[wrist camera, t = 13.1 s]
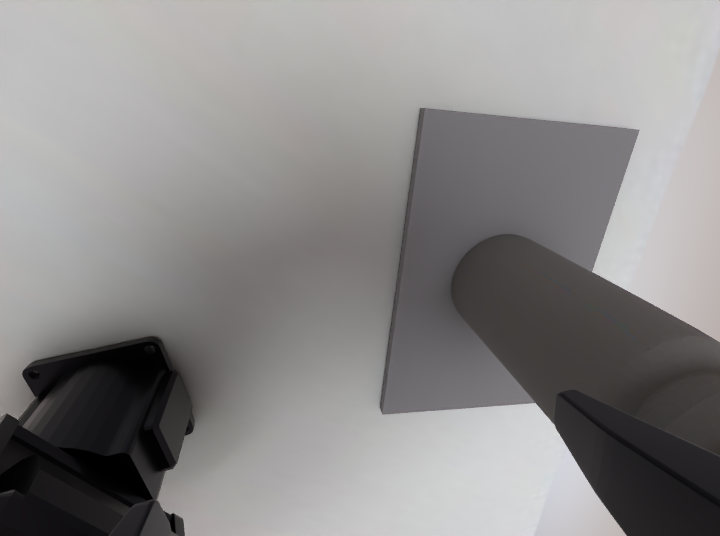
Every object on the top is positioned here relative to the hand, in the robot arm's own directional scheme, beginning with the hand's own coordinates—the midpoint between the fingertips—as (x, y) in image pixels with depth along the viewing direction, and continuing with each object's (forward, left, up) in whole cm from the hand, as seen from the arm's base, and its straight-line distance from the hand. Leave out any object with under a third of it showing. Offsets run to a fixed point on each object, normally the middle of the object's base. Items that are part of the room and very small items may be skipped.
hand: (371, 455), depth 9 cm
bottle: (+10, -4, -13) cm, 16 cm away
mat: (+10, -4, -13) cm, 17 cm away
